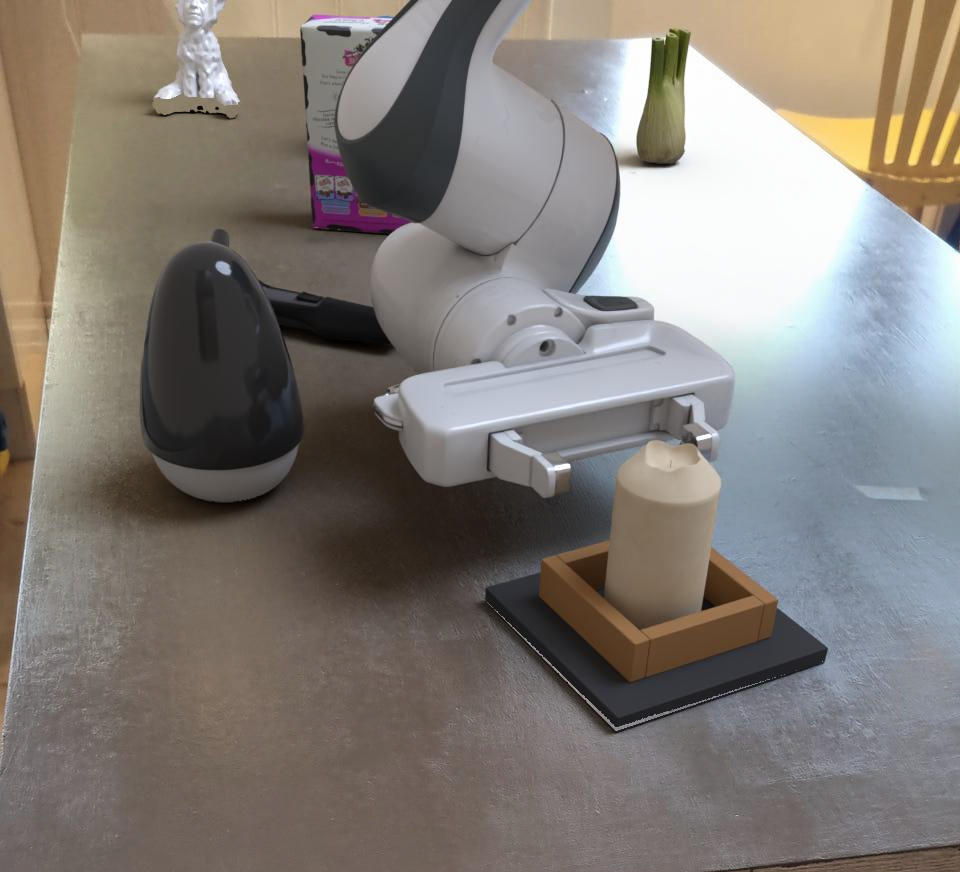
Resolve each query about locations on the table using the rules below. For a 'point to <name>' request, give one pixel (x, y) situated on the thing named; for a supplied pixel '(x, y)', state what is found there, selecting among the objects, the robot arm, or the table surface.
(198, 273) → the grey white egg shape
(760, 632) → the dock
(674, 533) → the candle
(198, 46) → the sitting furry creature
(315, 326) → the electric trimmer
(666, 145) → the fennel bulb
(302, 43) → the candy bar box
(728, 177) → the table surface
